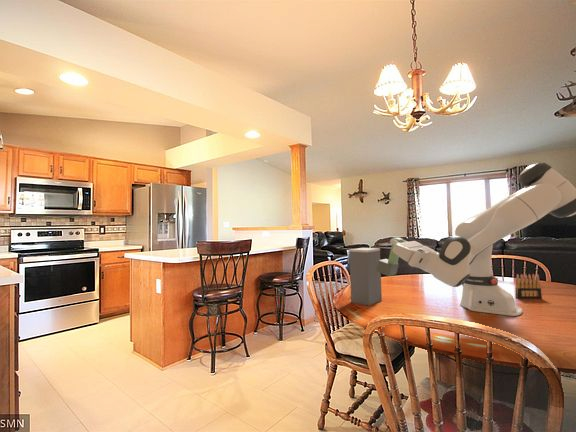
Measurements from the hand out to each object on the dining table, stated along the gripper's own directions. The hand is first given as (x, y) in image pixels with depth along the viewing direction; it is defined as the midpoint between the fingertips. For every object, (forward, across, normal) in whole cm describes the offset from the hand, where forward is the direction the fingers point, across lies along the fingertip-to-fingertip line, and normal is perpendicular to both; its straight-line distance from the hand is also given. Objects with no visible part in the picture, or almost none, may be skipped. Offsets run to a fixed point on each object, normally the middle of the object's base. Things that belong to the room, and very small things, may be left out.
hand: (394, 239), depth 126 cm
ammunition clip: (-48, -64, +9) cm, 81 cm away
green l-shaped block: (-4, 0, +6) cm, 8 cm away
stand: (+2, -10, +38) cm, 39 cm away
